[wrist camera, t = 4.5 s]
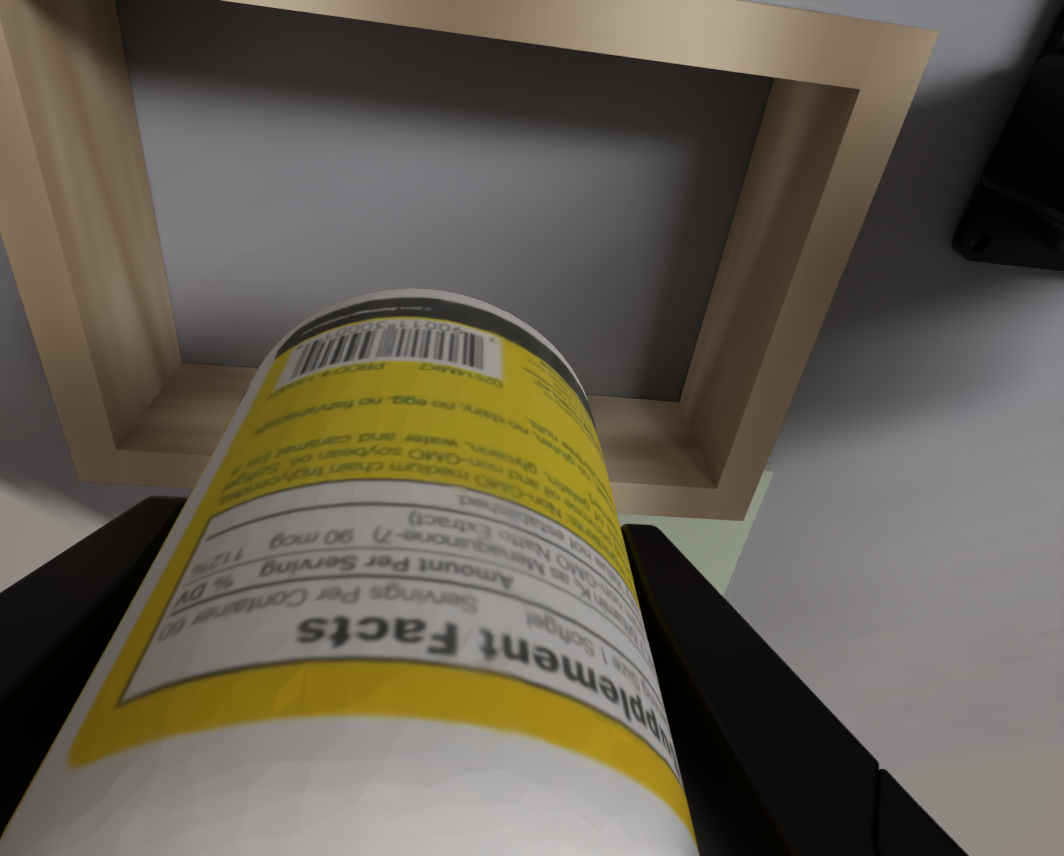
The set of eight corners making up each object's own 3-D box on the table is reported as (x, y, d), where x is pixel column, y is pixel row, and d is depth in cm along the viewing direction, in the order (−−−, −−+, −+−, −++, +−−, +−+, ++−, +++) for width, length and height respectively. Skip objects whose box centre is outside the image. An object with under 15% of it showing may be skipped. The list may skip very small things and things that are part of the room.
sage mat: (770, 463, 22) (774, 471, 21) (710, 611, 26) (713, 619, 25) (552, 448, 21) (553, 456, 21) (525, 603, 25) (525, 611, 24)
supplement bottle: (435, 600, 11) (356, 1572, 5) (180, 439, 9) (-685, 1790, 2) (663, 434, 10) (1084, 1591, 3) (412, 193, 8) (-284, 2337, 1)
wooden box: (838, 14, 15) (939, 31, 11) (702, 432, 21) (743, 520, 18) (40, -107, 13) (-115, -130, 10) (149, 390, 19) (78, 481, 16)
